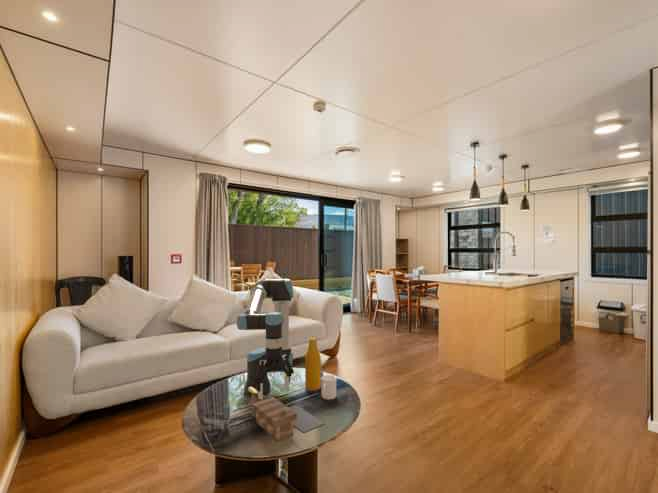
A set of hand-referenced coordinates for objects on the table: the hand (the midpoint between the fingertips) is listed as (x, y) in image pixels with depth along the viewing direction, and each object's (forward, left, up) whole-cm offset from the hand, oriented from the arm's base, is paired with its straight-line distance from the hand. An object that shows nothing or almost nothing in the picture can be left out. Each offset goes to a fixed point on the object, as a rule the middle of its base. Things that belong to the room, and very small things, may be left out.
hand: (273, 394), depth 145 cm
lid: (0, 0, -10) cm, 10 cm away
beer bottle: (-24, +40, -16) cm, 50 cm away
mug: (-8, +38, -16) cm, 42 cm away
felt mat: (0, +14, -16) cm, 21 cm away
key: (-19, 0, -6) cm, 20 cm away
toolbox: (-4, 0, -15) cm, 16 cm away
